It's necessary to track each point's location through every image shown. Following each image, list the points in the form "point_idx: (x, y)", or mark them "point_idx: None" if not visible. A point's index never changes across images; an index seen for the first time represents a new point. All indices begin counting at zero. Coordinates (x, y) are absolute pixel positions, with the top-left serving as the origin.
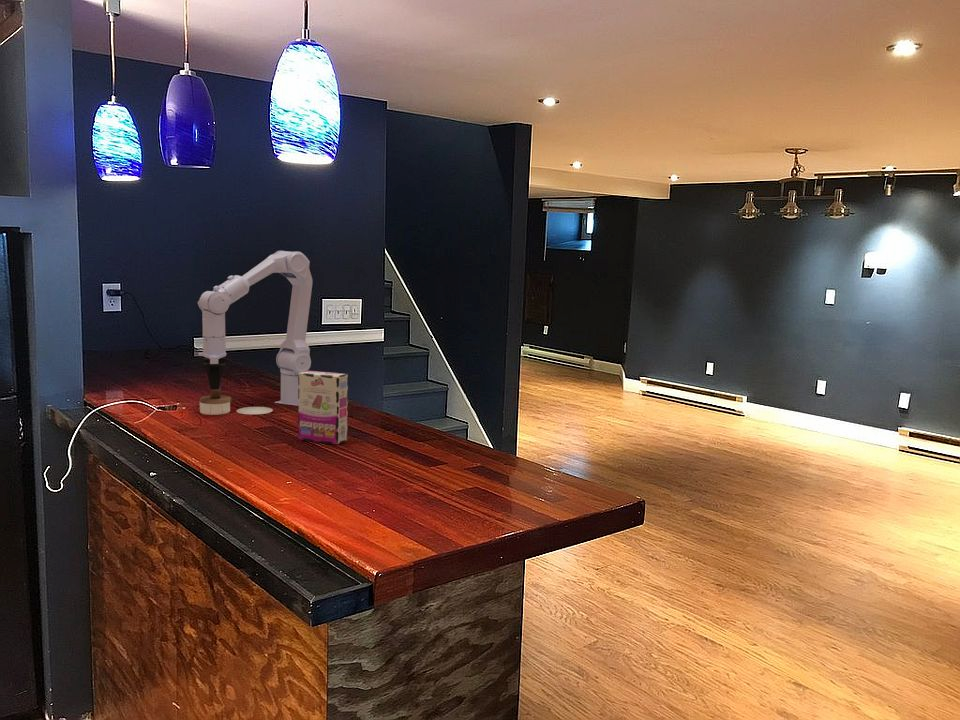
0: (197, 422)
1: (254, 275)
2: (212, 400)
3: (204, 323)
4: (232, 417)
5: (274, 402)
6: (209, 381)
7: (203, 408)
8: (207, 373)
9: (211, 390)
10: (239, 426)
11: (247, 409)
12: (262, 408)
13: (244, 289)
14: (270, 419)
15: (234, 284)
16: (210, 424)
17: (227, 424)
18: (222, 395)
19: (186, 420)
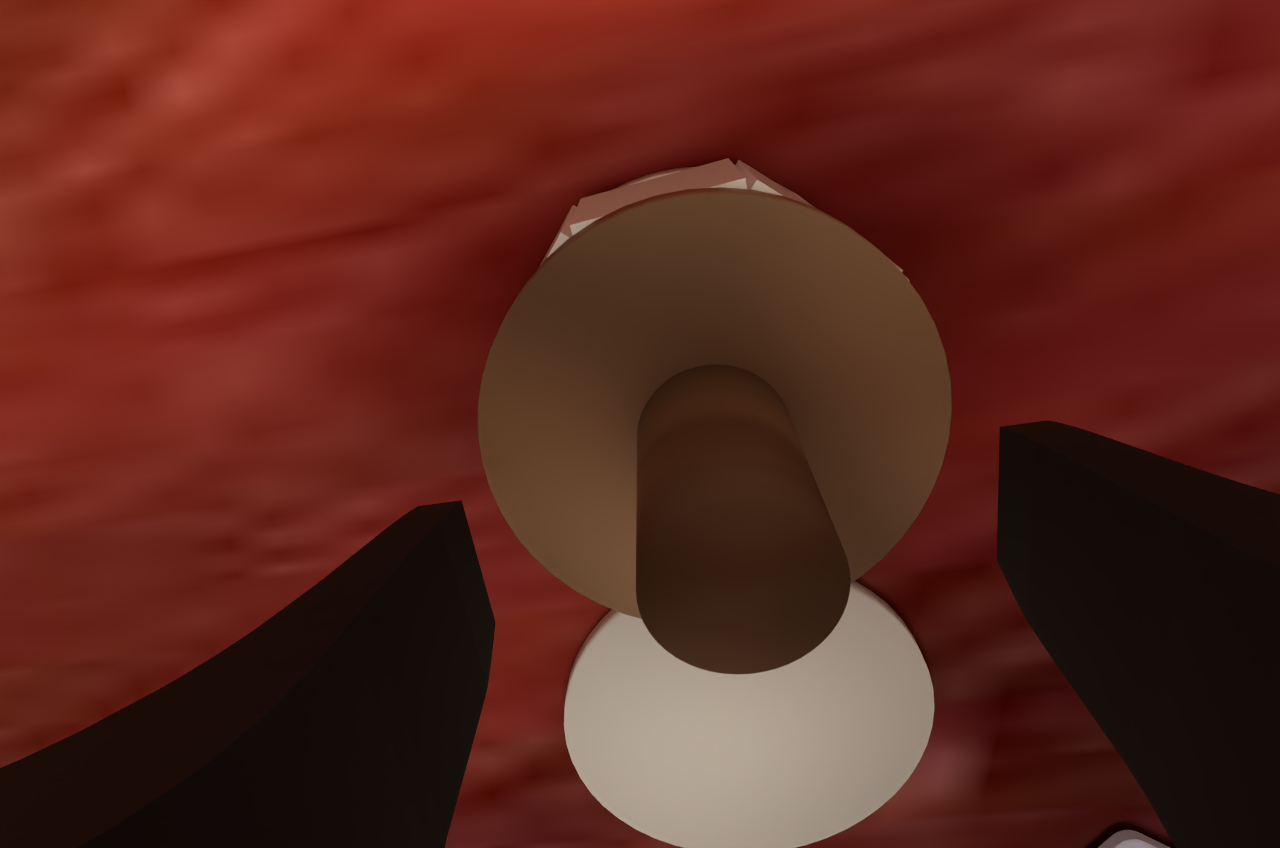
0: (204, 220)
1: None
2: (528, 422)
3: None
4: (512, 547)
5: (1130, 839)
6: (316, 592)
7: (546, 255)
8: (119, 723)
9: (654, 452)
10: (123, 651)
11: (798, 663)
12: (838, 776)
13: None
14: (454, 839)
15: None
16: (138, 383)
17: (180, 544)
18: (920, 501)
19: (288, 51)
